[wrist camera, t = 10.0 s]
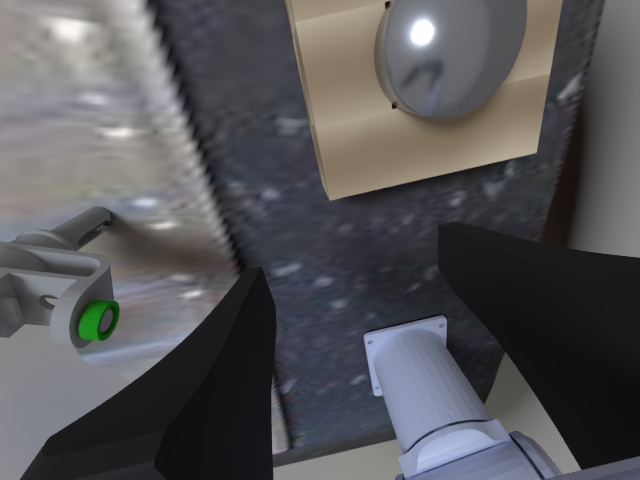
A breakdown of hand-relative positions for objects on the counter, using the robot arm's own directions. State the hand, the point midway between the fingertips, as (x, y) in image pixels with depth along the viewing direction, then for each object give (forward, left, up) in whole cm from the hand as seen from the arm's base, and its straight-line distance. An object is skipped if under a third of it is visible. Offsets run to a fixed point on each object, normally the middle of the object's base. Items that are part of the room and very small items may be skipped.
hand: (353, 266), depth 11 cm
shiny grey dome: (+7, -6, -9) cm, 13 cm away
